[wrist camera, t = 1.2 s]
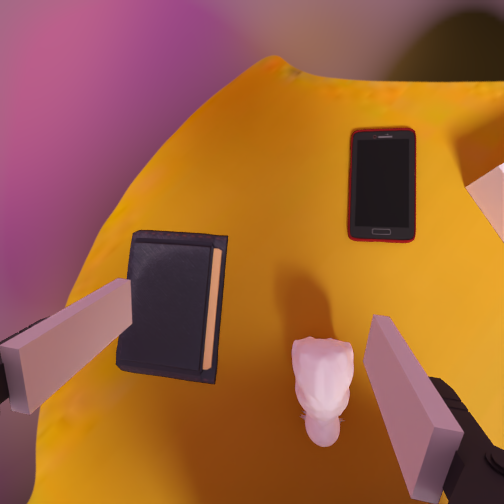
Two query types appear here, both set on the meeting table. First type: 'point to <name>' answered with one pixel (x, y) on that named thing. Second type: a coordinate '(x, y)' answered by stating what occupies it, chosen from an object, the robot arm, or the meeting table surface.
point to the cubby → (491, 197)
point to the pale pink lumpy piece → (322, 385)
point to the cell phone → (382, 185)
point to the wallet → (174, 305)
